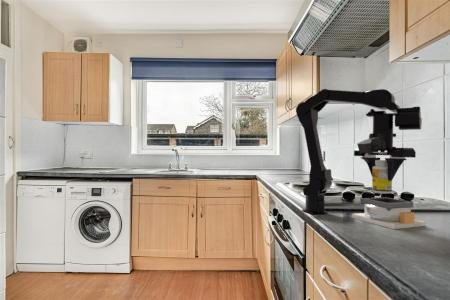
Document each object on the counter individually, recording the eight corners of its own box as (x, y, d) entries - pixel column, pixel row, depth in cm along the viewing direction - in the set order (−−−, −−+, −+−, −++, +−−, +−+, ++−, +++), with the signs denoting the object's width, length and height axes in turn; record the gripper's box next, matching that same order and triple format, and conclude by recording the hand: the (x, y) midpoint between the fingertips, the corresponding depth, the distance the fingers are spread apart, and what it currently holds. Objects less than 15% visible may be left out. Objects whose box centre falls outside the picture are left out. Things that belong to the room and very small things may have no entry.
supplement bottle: (371, 191, 104) (372, 159, 104) (391, 192, 102) (391, 160, 102) (372, 193, 99) (372, 160, 99) (392, 194, 96) (392, 160, 96)
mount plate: (351, 217, 105) (351, 213, 105) (380, 215, 110) (380, 211, 110) (394, 229, 91) (394, 224, 91) (425, 225, 96) (425, 221, 96)
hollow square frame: (355, 214, 104) (355, 198, 104) (384, 212, 109) (384, 196, 109) (393, 224, 91) (393, 205, 91) (424, 221, 96) (425, 203, 96)
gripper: (341, 130, 106) (340, 177, 106) (389, 127, 89) (388, 183, 89) (367, 132, 110) (366, 177, 110) (417, 129, 93) (416, 182, 93)
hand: (382, 179), depth 100 cm, fingers closed on supplement bottle, 6 cm apart
